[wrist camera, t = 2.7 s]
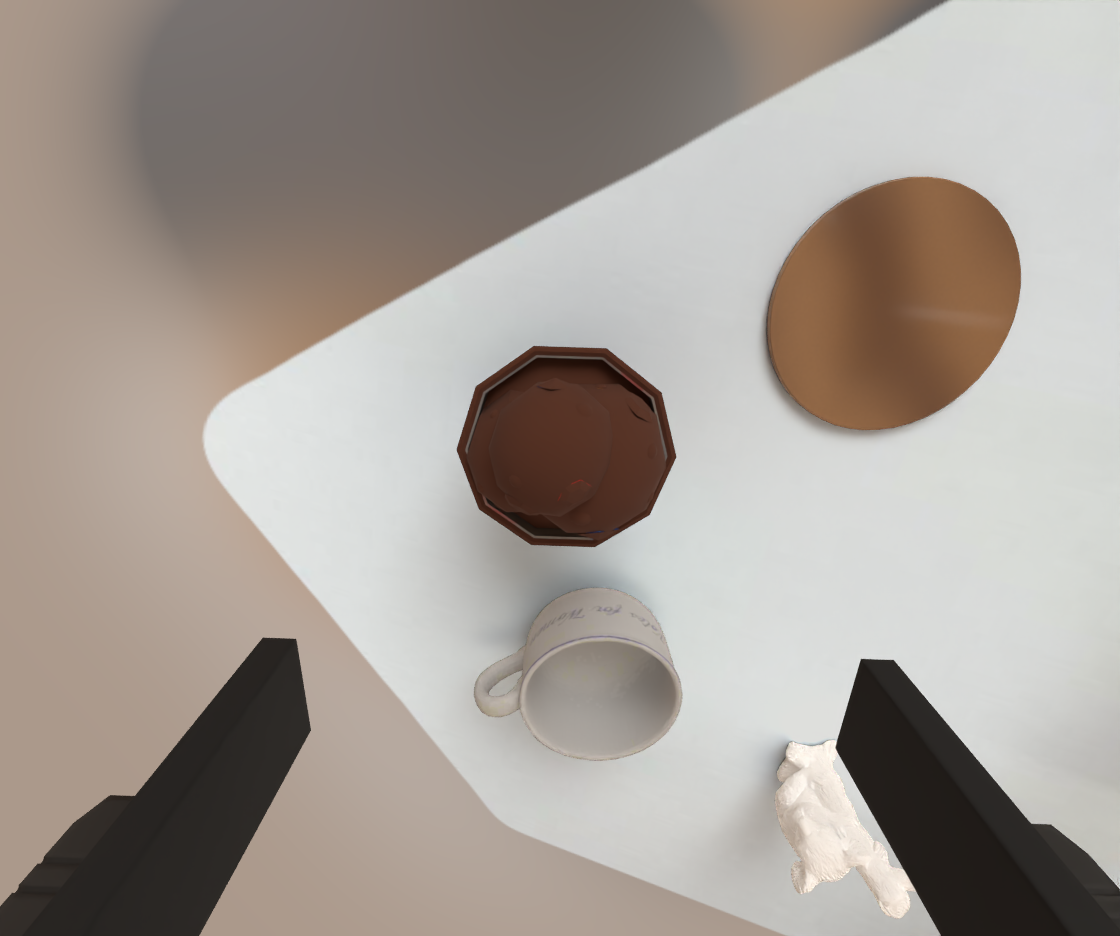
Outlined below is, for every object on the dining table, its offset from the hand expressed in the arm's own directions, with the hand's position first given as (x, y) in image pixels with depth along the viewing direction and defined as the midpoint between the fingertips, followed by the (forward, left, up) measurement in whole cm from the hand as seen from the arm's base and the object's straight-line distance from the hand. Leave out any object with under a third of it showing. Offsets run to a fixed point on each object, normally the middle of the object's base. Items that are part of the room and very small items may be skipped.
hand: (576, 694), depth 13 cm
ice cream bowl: (0, -1, -25) cm, 25 cm away
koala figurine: (+6, +36, -25) cm, 45 cm away
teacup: (+11, +13, -25) cm, 31 cm away
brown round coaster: (-19, +8, -25) cm, 33 cm away
